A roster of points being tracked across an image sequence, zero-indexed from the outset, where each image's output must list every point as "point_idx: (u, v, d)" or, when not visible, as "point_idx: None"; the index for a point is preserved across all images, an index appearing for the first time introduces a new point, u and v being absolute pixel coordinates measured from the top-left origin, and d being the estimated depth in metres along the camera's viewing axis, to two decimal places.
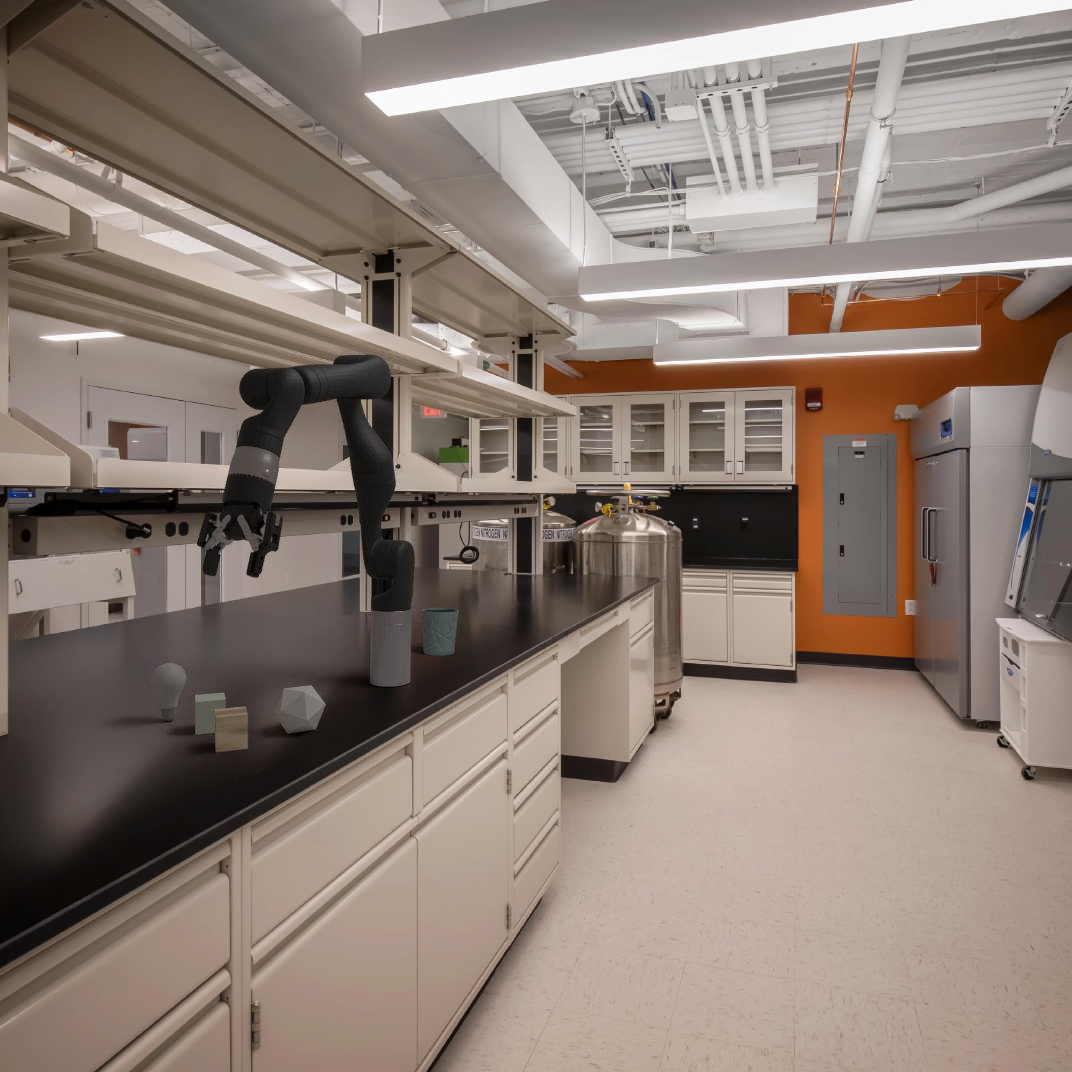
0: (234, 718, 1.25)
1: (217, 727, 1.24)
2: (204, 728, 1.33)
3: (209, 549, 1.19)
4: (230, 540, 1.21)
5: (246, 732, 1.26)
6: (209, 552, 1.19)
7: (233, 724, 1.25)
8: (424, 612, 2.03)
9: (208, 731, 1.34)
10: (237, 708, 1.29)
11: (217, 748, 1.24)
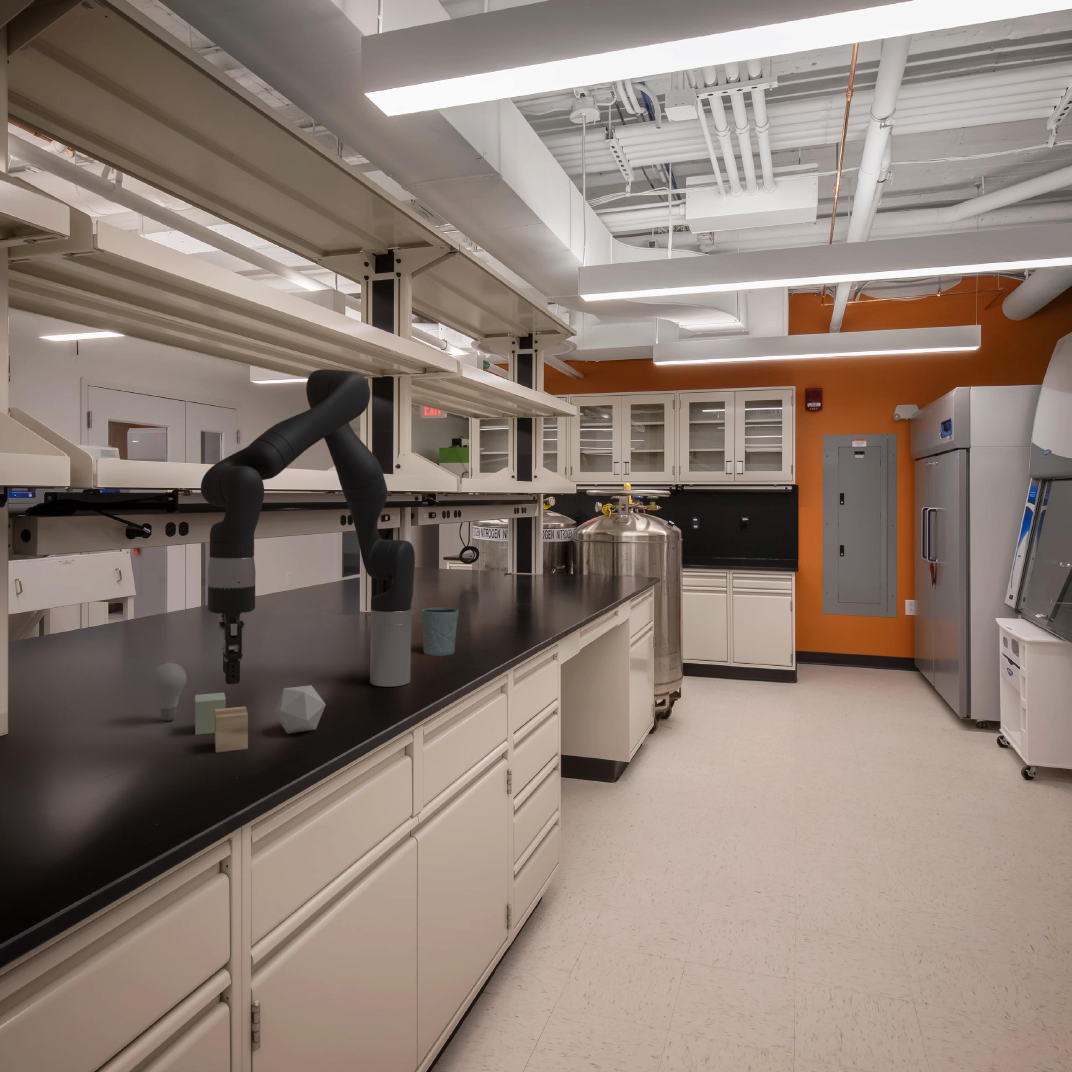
0: (234, 718, 1.25)
1: (217, 727, 1.24)
2: (204, 728, 1.33)
3: (223, 650, 1.30)
4: None
5: (246, 732, 1.26)
6: (223, 653, 1.30)
7: (233, 724, 1.25)
8: (424, 612, 2.03)
9: (208, 731, 1.34)
10: (237, 708, 1.29)
11: (217, 748, 1.24)
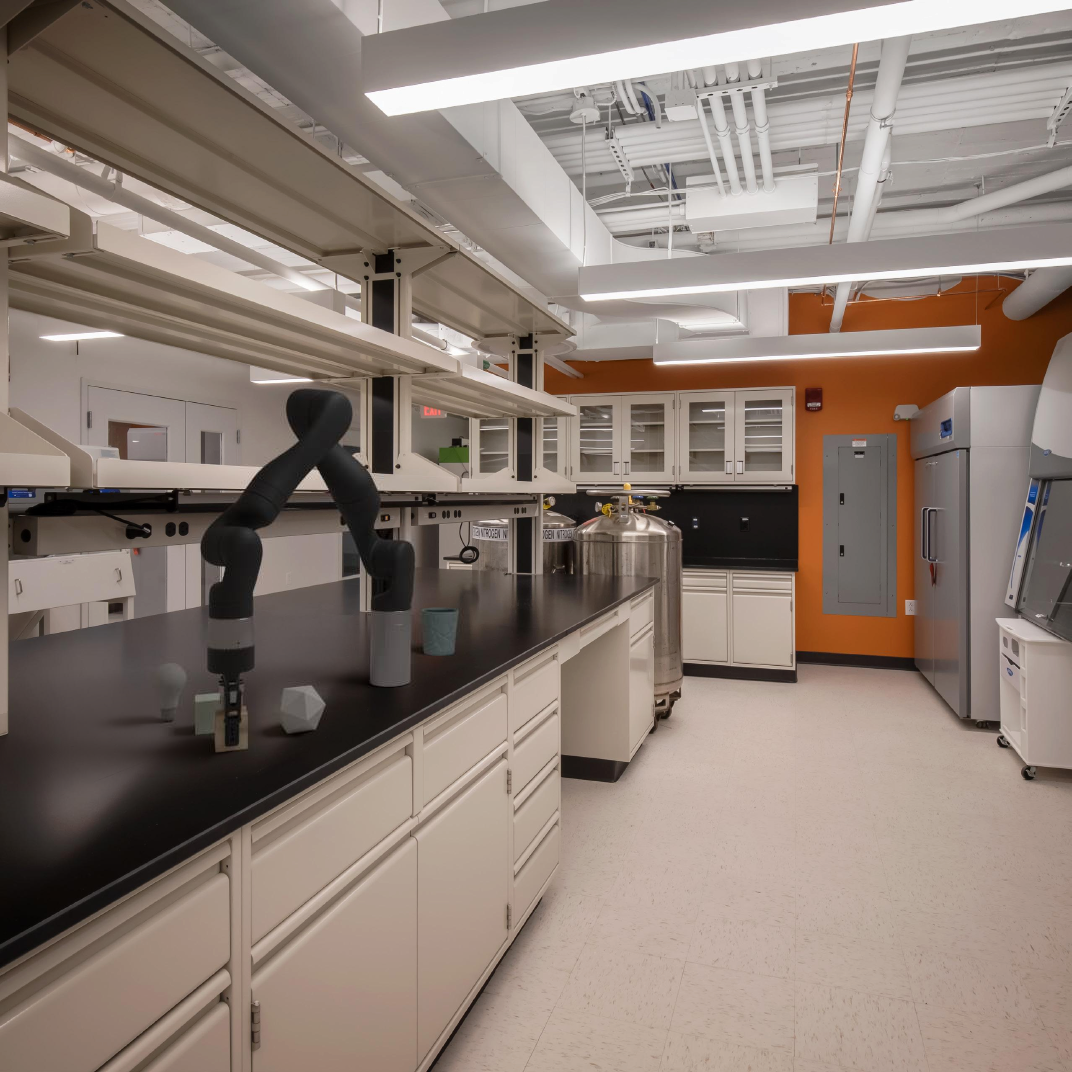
0: None
1: (217, 727, 1.24)
2: (204, 728, 1.33)
3: None
4: None
5: (246, 732, 1.26)
6: None
7: None
8: (424, 612, 2.03)
9: (208, 731, 1.34)
10: None
11: (217, 748, 1.24)
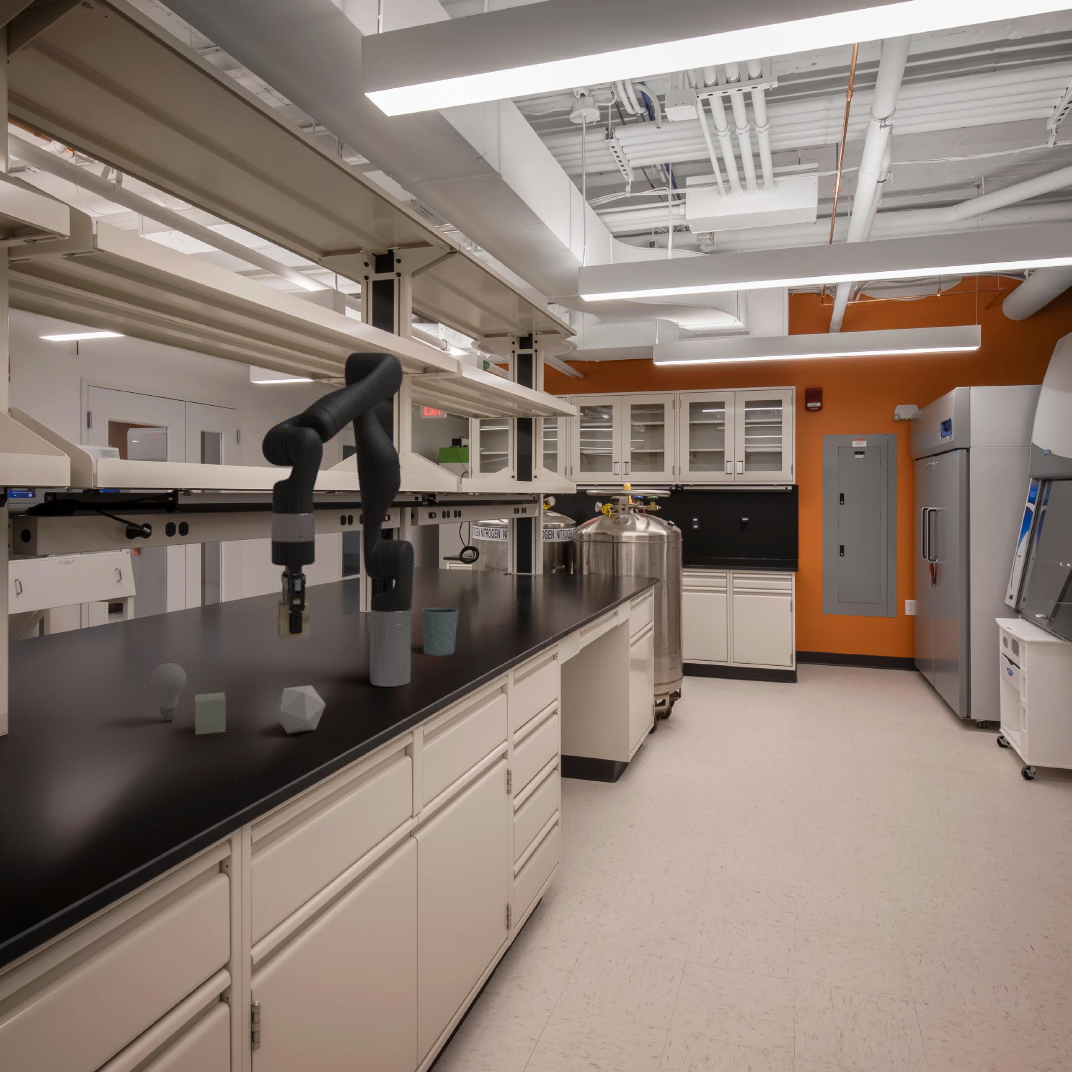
0: None
1: (282, 615, 1.32)
2: (204, 728, 1.33)
3: None
4: None
5: (308, 621, 1.34)
6: None
7: None
8: (424, 612, 2.03)
9: (208, 731, 1.34)
10: (298, 601, 1.37)
11: (282, 635, 1.33)
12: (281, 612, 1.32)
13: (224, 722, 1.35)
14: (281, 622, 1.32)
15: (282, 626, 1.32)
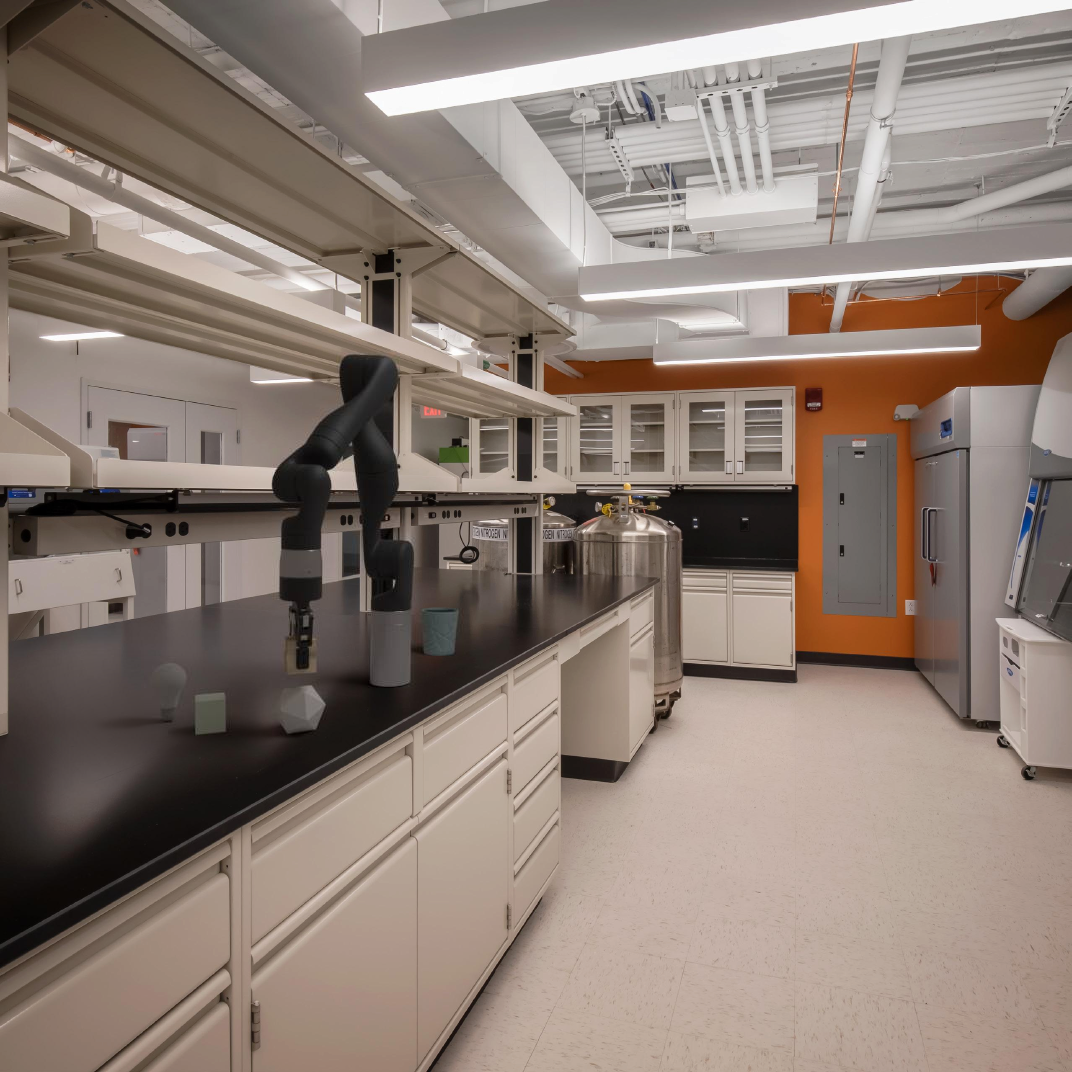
0: None
1: (289, 650, 1.33)
2: (204, 728, 1.33)
3: None
4: None
5: (315, 656, 1.35)
6: None
7: None
8: (424, 612, 2.03)
9: (208, 731, 1.34)
10: (305, 636, 1.38)
11: (289, 670, 1.33)
12: (288, 647, 1.33)
13: (224, 722, 1.35)
14: (288, 657, 1.33)
15: (289, 661, 1.33)
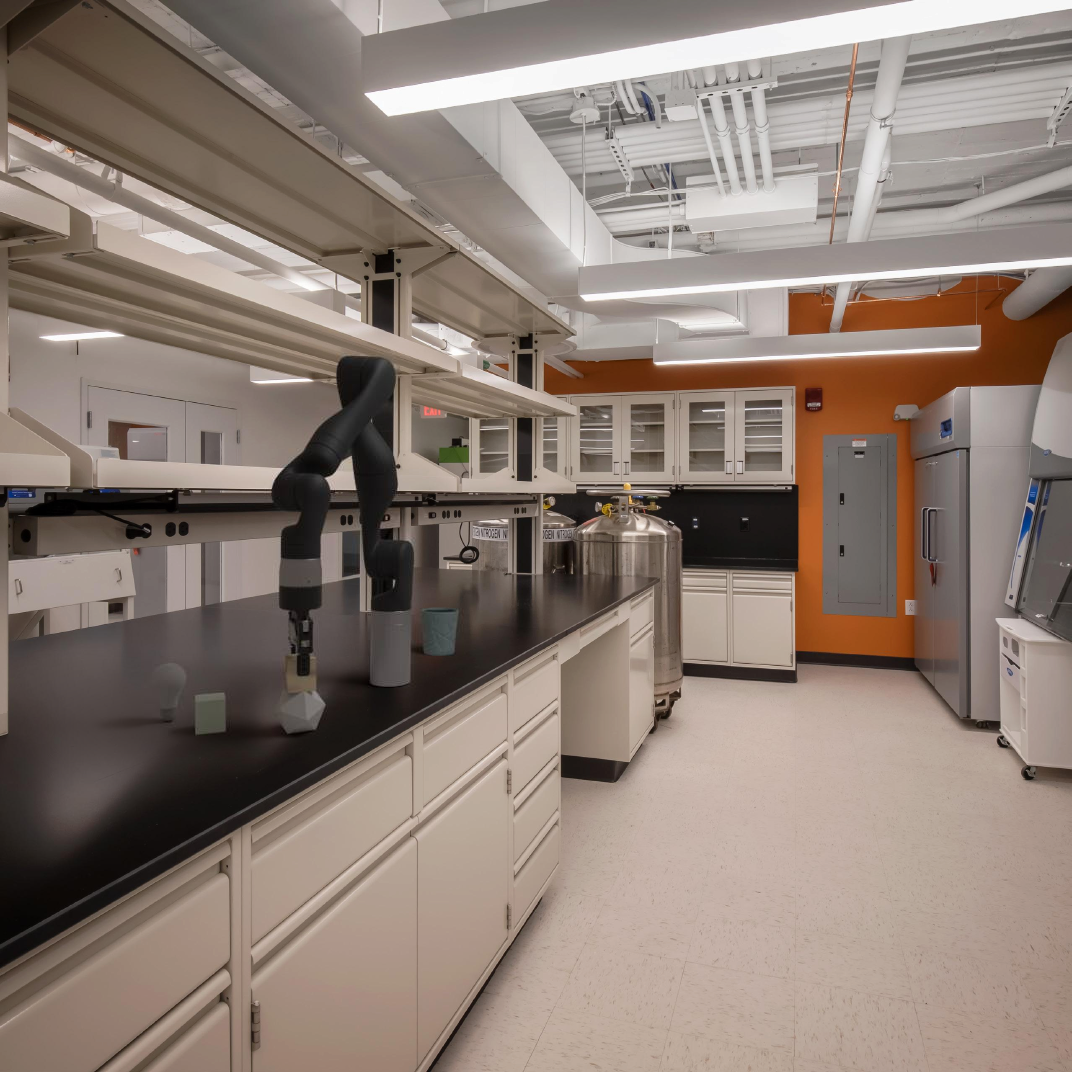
0: None
1: (289, 669, 1.33)
2: (204, 728, 1.33)
3: (291, 645, 1.40)
4: None
5: (315, 675, 1.35)
6: (291, 648, 1.40)
7: None
8: (424, 612, 2.03)
9: (208, 731, 1.34)
10: None
11: (289, 689, 1.34)
12: (288, 666, 1.33)
13: (224, 722, 1.35)
14: (288, 676, 1.33)
15: (289, 680, 1.34)
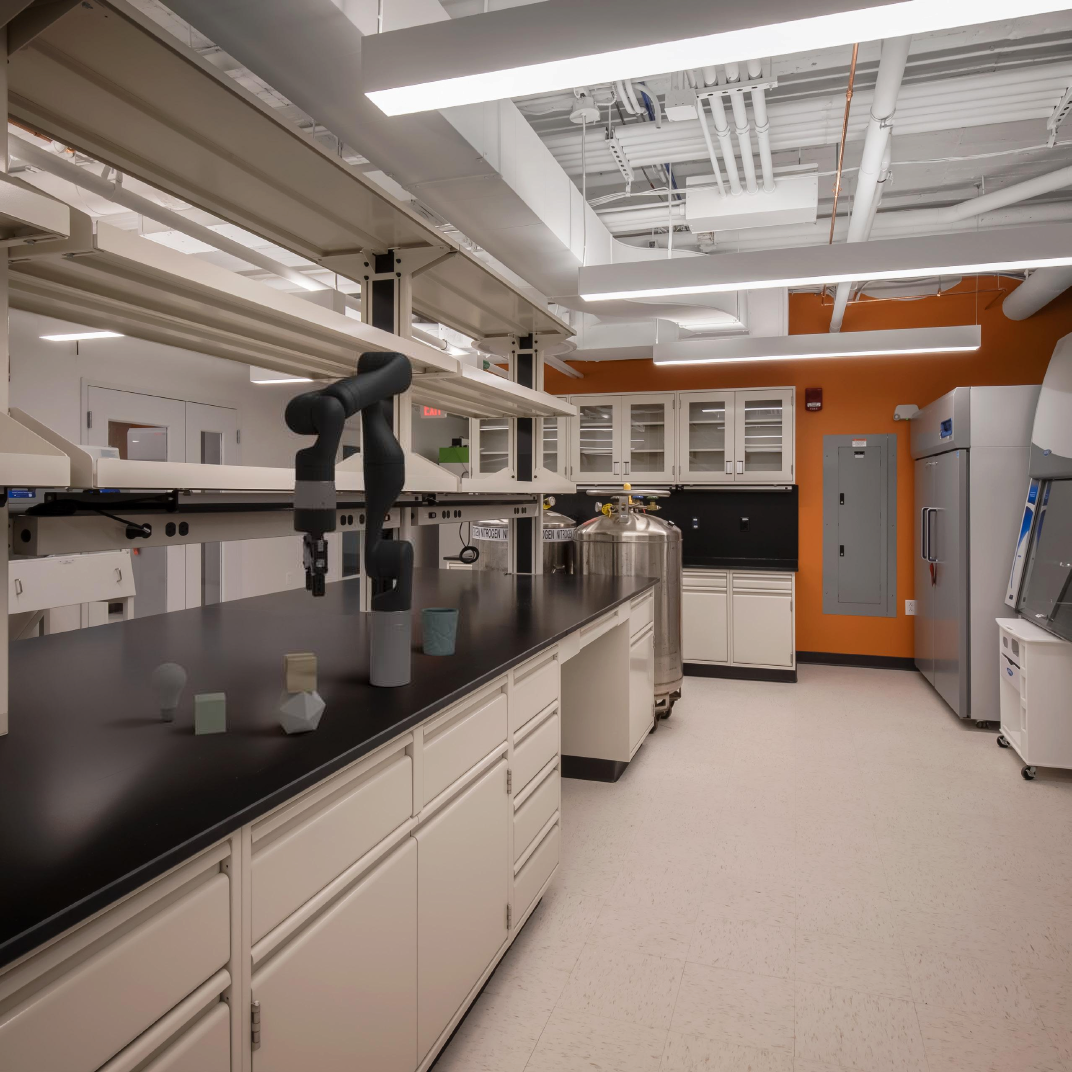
0: (304, 661, 1.34)
1: (289, 669, 1.33)
2: (204, 728, 1.33)
3: (306, 569, 1.41)
4: None
5: (315, 675, 1.35)
6: None
7: (303, 667, 1.34)
8: (424, 612, 2.03)
9: (208, 731, 1.34)
10: (305, 654, 1.38)
11: (289, 689, 1.34)
12: (288, 666, 1.33)
13: (224, 722, 1.35)
14: (288, 676, 1.33)
15: (289, 680, 1.34)
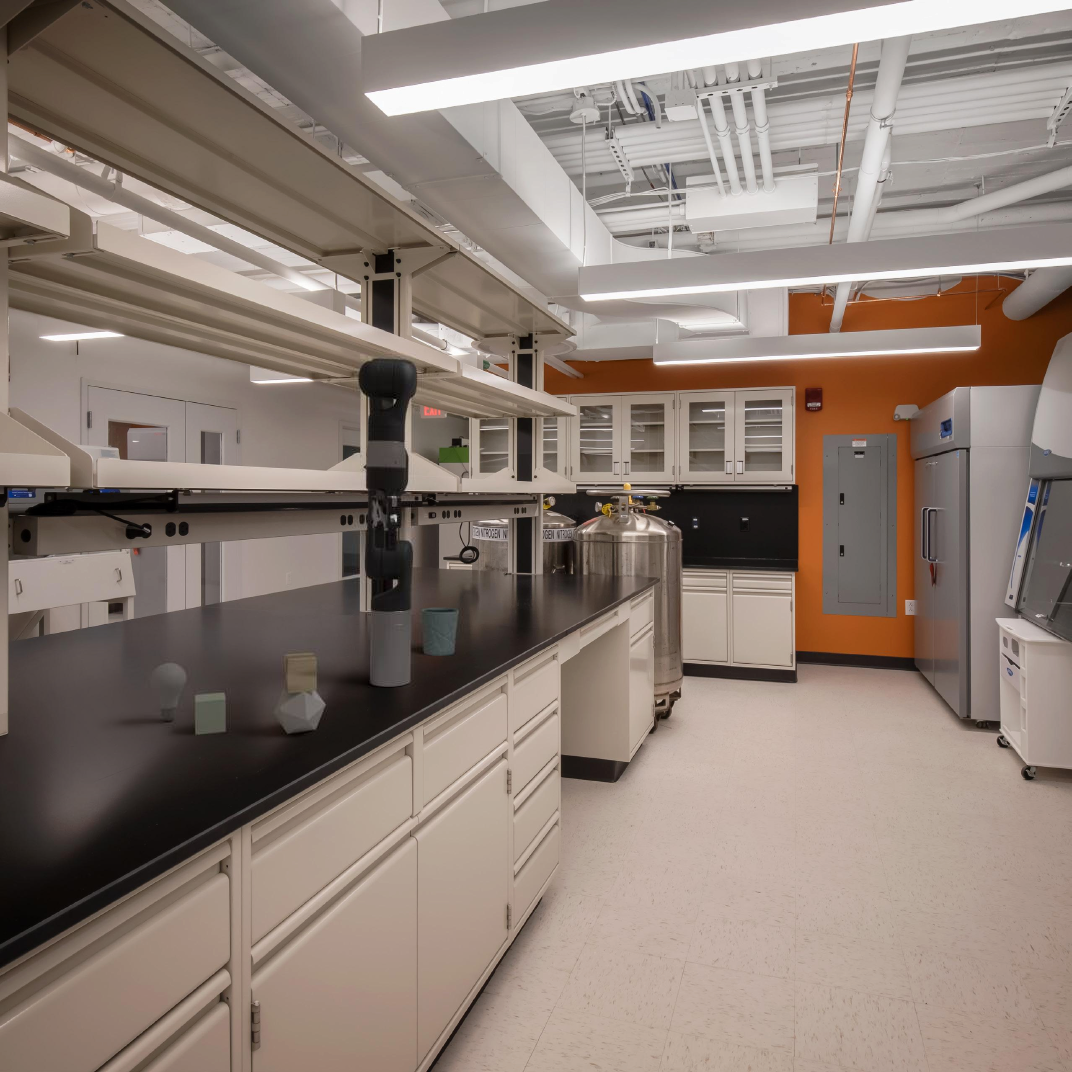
0: (304, 661, 1.34)
1: (289, 669, 1.33)
2: (204, 728, 1.33)
3: (374, 527, 1.47)
4: None
5: (315, 675, 1.35)
6: (374, 530, 1.47)
7: (304, 667, 1.34)
8: (424, 612, 2.03)
9: (208, 731, 1.34)
10: (305, 654, 1.38)
11: (289, 689, 1.34)
12: (288, 666, 1.33)
13: (224, 722, 1.35)
14: (288, 676, 1.33)
15: (289, 680, 1.33)
